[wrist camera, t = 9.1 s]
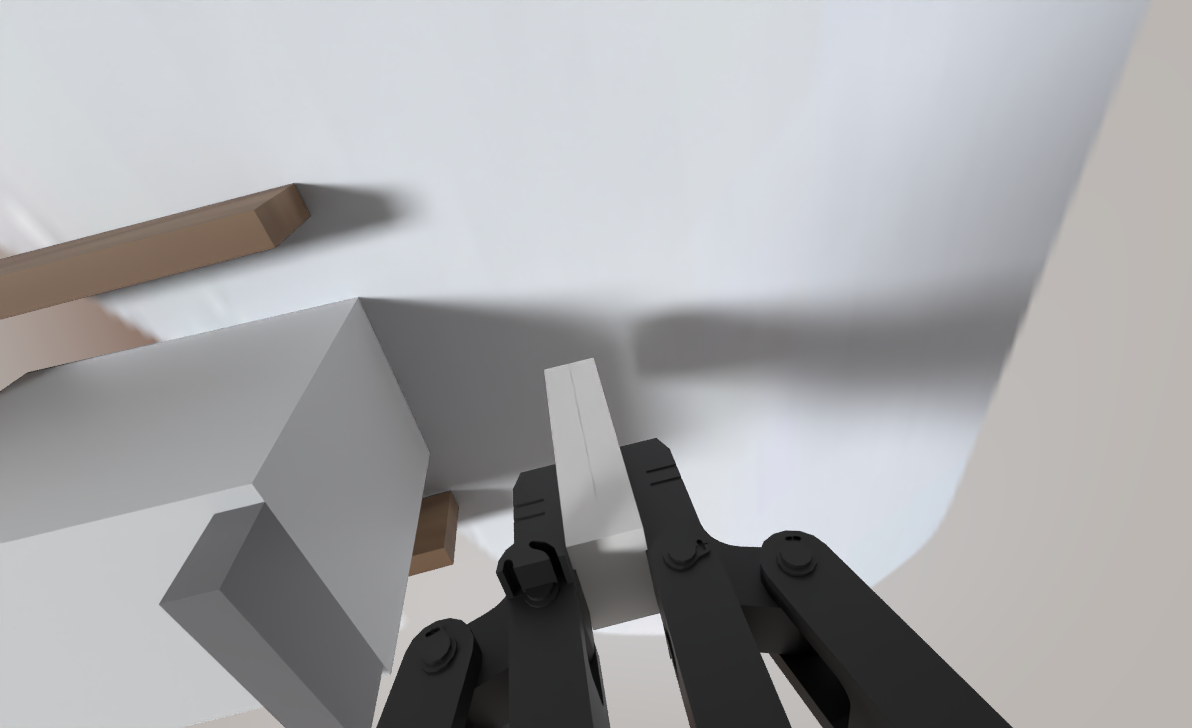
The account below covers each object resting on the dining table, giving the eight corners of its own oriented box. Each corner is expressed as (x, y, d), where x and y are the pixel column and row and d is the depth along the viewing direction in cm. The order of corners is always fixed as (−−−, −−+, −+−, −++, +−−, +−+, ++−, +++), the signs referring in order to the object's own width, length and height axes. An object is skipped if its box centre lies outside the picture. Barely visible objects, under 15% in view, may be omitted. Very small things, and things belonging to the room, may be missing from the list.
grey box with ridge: (27, 372, 18) (-513, 745, 8) (358, 296, 18) (201, 570, 9) (158, 517, 21) (-113, 888, 12) (430, 451, 22) (375, 762, 12)
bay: (-142, 295, 16) (-268, 345, 13) (293, 183, 16) (253, 209, 13) (164, 586, 23) (122, 653, 20) (458, 507, 23) (453, 564, 21)
